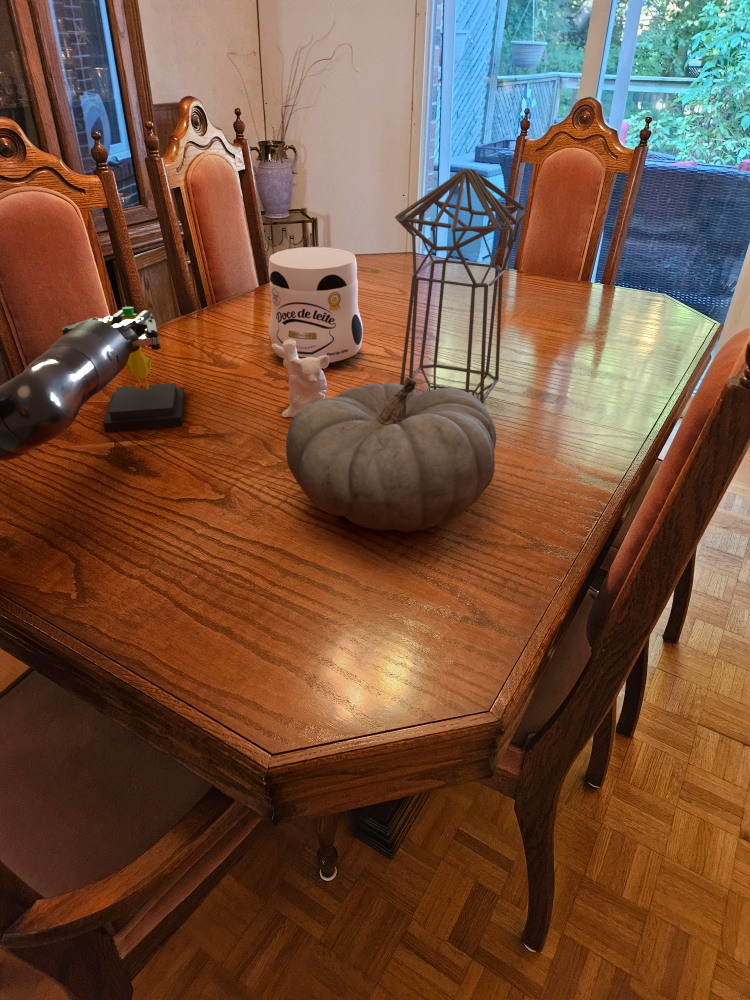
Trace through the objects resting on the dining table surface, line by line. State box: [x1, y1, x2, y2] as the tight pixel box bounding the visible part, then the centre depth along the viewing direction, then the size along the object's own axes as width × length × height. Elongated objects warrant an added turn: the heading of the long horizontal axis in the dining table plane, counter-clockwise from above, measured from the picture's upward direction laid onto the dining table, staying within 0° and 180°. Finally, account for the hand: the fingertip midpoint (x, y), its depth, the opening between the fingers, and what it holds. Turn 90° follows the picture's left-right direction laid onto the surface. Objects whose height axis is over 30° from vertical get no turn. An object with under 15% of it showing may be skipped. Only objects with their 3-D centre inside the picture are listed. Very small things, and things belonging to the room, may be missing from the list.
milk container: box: [268, 246, 364, 366], centre depth 120 cm, size 17×17×18 cm
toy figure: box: [121, 306, 153, 390], centre depth 97 cm, size 7×4×12 cm, turn 10°
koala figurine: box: [271, 339, 330, 418], centre depth 102 cm, size 8×7×12 cm
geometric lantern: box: [394, 168, 530, 404], centre depth 97 cm, size 16×16×35 cm
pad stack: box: [102, 382, 186, 433], centre depth 103 cm, size 11×11×4 cm
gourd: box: [285, 377, 497, 533], centre depth 80 cm, size 25×25×17 cm
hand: (137, 316), depth 97 cm, fingers closed on toy figure, 3 cm apart
